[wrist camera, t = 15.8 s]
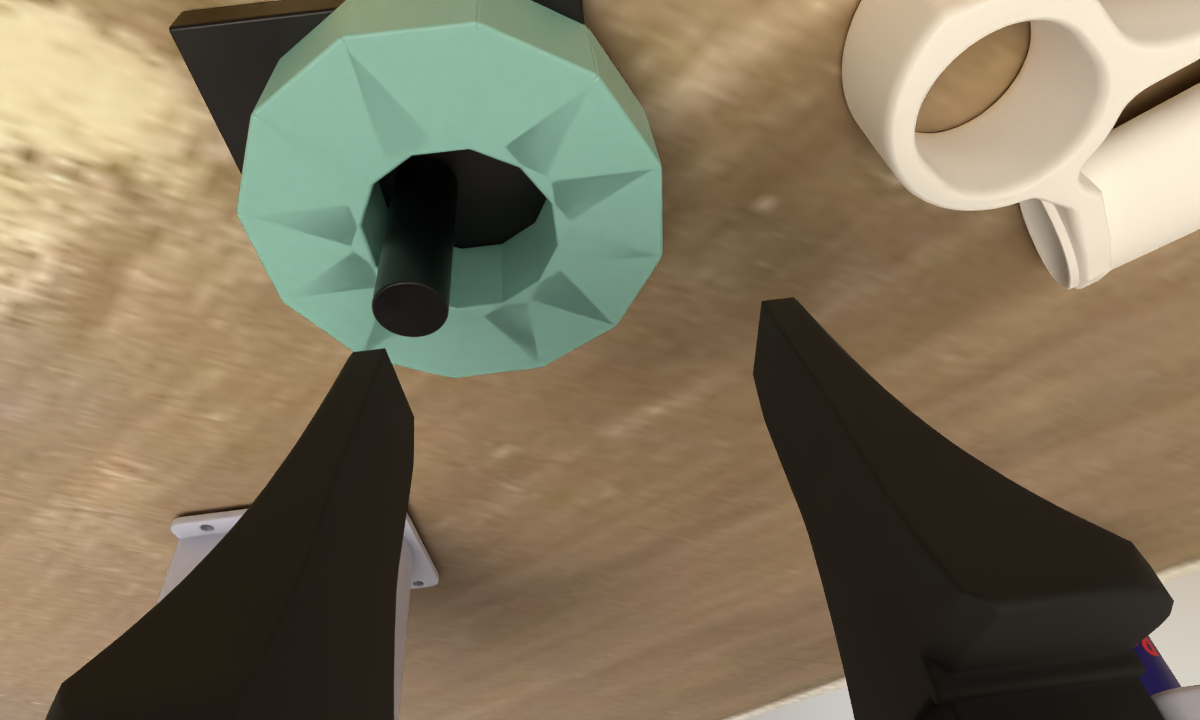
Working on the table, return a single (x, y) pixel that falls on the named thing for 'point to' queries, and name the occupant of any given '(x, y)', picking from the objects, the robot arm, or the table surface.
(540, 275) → the ring
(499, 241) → the stand
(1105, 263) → the knuckle duster
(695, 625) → the table surface
